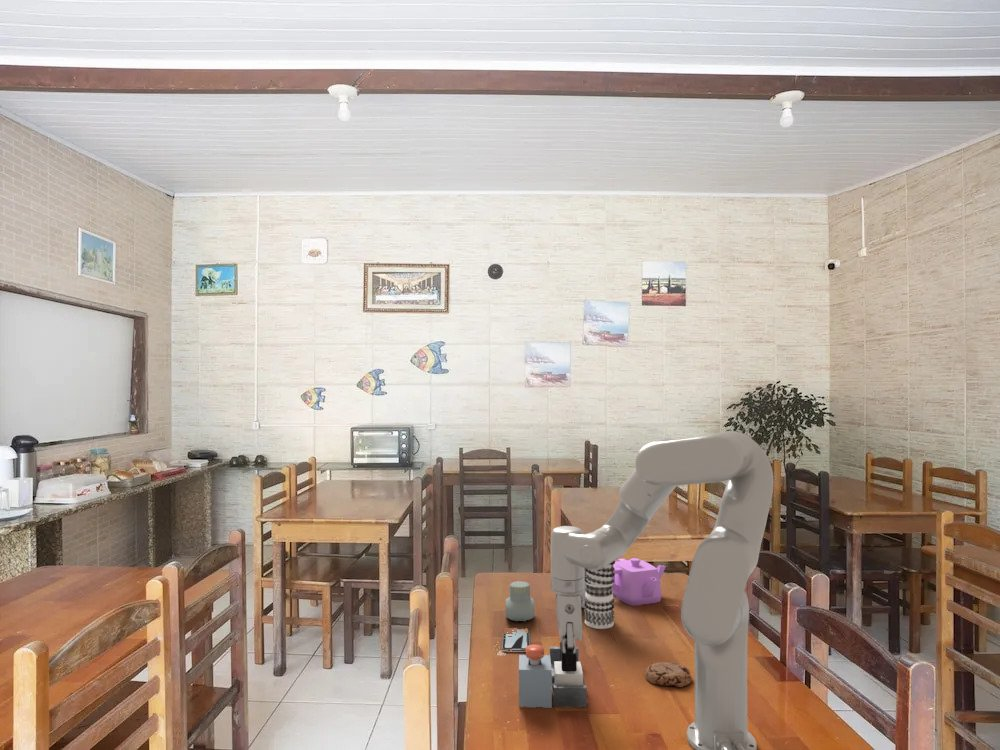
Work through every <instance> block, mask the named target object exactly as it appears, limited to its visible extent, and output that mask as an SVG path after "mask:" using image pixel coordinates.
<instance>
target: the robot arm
mask: <svg viewBox="0 0 1000 750" xmlns="http://www.w3.org/2000/svg"><path fill="white" fill-rule="evenodd" d="M636 455H637V456H636V458H635V469H634V470H633V471H632V472H631V474H630V475H629V476H628V478H627V479H626V481H624V482H623V484H622V485H621V486H620V488H619V491H618V494H619V495H618V496H619V499H620V501H619V503H618V505H617V507H616V509H615V510H614V511H613V512H612V514H611V515H610V517H608V519H607V521H605V523H604V524H603V525H602V526H601V527H600V528H598V529H596V530H594V531H592V532H588V533H584V531H583V530H582V529H581V528H580V527H577V526H571V525H562V526H561V525H560V526H557V527H554V528H553V529H552V530H551V533H550V590H551V592H553V594H555V600H556V619H557V620H556V622H557V629H558V635H559V638H560V642H559V647H560V659H561V640H562V641H563V652H562V660H561V661H562V671H573V672H575V671H576V670H577V657H576V647H577V645H576V641H579V642H580V641H581V642H582V640H583V621H582V609H581V596H580V594H582V593H584V591H585V568H586V569H589V570H600V569H602V568H604V567H606V566H607V565H609V564H610V563H612V562H613V561H615V562H616V560H618V559H621V557H622V556H623V555H625V554H626V552H627V551H628V550H629V548H630V547H631V546H632V545H633V544H634V542H635V541H636V540H637V539H638V538H639V537H640V535H641V534H642V533H643V531H644V530H645V529H646V527H647V525H648V524H649V523H650V522H651V520H652V518H653V516H654V515H655V513H656V512H657V511H658V509H660V507H661V506H662V505H663V503H664V502H665V500H666V499H667V498H668V497H669V496H670V495H671V493H673V491H674V490H675V489H676V488H677V486H688V485H698V484H699V485H700V484H701V485H702V484H711V483H714V484H715V483H721V482H726V483H725V487H724V488H725V489H724V491H723V495H722V496H721V501H720V504H719V510H718V513H717V517H716V520H715V524H714V527H713V529H712V531H711V532H710V534H709V535H707V536H706V537H705V538H704V539H703V540H702V541H701V542H700V543H699V545H698V547H697V548H696V550H695V553H694V556H693V559H692V561H691V566H690V570H689V573H688V578H687V582H686V586H685V590H684V593H683V598H682V602H681V606H680V607H681V608H680V619H681V622H682V625H683V628H684V630H685V632H686V633H687V635H688V636H689V637H690V638H691V639H692V640H693V641H694V721H693V722H691V723H690V724H689V725H688V726H687V729H686V738H687V742H688V743H689V745H690V746H691V747H692V748H693V749H694V750H757V749H758V748H757V745H758V744H757V741H756V738H755V737H754V736H753V734H752V733H751V732H749V731H748V636H749V620H750V605H749V599H748V595H747V593H746V591H745V589H746V587H747V582H748V579H749V577H750V576H751V574H752V573H753V572H754V570H755V569H756V566H758V561H759V557H760V550H761V546H762V542H763V538H764V535H765V530H766V526H767V522H768V521H767V520H768V515H769V511H770V507H771V503H772V499H773V494H774V492H773V491H774V484H775V483H774V471H773V467H772V465H771V462H770V459H769V458H768V455H767V454H766V452H765V451H764V449H763V448H762V447H761V446H760V444H758V443H757V442H756V441H755V440H754V439H752V437H750V436H748V435H747V434H745V433H742V432H739V431H737V430H736V431H735V430H725V431H720V432H717V433H714V434H710V435H705V436H697V437H690V438H683V439H675V438H662V439H661V438H660V439H658V440H654V441H650V442H648V443H646V444H645V445H644V446H642V447H641V448H640V449H639V451H638V453H637V454H636ZM565 642H567V644H566V646H565Z"/></svg>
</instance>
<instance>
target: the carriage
mask: <svg viewBox="0 0 1000 750" xmlns="http://www.w3.org/2000/svg"><path fill="white" fill-rule="evenodd" d="M560 642H561V660H562V652H563V641H562V640H561V639H560ZM566 644H567V642H565V646H566ZM581 663H582V662H581V661H578V662H577V670H576V671H575V672H573V671H562V661H554V675H552V688H553V691H552V694H553V693H554V685H586V684H585V676H584V672H583V667H582V664H581Z"/></svg>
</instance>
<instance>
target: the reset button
mask: <svg viewBox="0 0 1000 750" xmlns="http://www.w3.org/2000/svg"><path fill="white" fill-rule="evenodd" d="M525 655H526V657H527V658H529V659H530V665H539V659H541V658H543V657H544V655H545V648H544V646H542V645H540V644H530V645H529V646H527V647H526V653H525Z"/></svg>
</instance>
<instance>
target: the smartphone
mask: <svg viewBox="0 0 1000 750" xmlns="http://www.w3.org/2000/svg"><path fill="white" fill-rule="evenodd" d="M519 629H520V630H519ZM512 631H514V630H512ZM525 631H526V630H524V629H522V628H517V633H516V632H512V633H513V634H503V633H502V640H501V641H502V642H501V650H502V649H503V650H508V651H510V650H512V651H526V647H527V646H529V645H531V643H530V642H531V641H530V639H531V638H530V630H529V631H528V632H529V633H527V632H525ZM507 633H508V632H507ZM515 634H516V635H515ZM503 635H506V636H503ZM508 636H512V637H508ZM503 638H505V639H503Z"/></svg>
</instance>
